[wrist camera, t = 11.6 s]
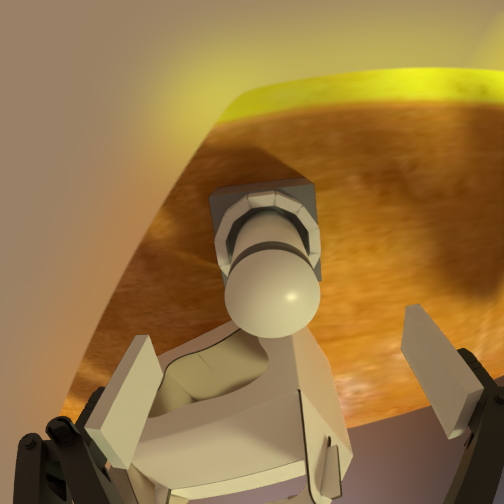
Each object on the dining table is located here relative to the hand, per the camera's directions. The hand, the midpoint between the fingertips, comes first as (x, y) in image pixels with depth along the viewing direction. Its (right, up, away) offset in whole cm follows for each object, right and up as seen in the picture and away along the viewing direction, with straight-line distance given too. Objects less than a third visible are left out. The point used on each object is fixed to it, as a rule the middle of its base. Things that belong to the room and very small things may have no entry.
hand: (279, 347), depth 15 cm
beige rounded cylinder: (0, +6, +16) cm, 17 cm away
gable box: (-3, -11, +29) cm, 31 cm away
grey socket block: (0, +8, +22) cm, 23 cm away
